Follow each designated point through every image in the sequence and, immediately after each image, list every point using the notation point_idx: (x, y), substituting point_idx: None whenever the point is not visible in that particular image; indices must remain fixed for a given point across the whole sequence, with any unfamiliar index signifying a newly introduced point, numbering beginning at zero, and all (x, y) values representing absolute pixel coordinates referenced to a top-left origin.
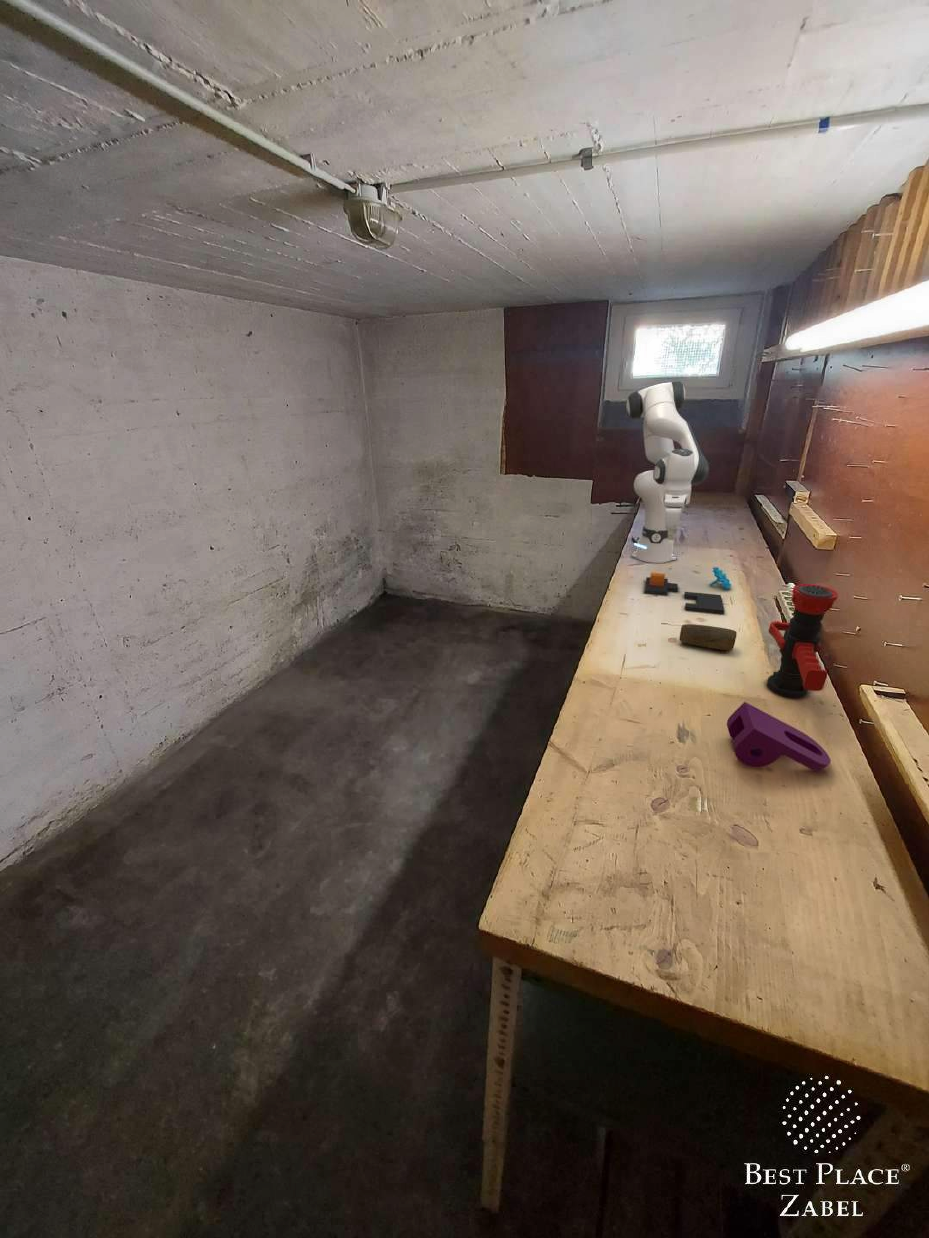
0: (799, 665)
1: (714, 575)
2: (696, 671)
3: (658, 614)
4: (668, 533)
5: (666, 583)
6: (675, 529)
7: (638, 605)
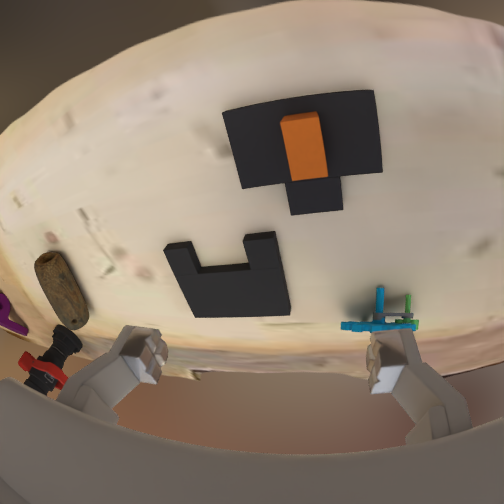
0: (30, 360)
1: (354, 324)
2: (27, 271)
3: (110, 192)
4: (93, 364)
5: (329, 173)
6: (372, 391)
7: (126, 129)
